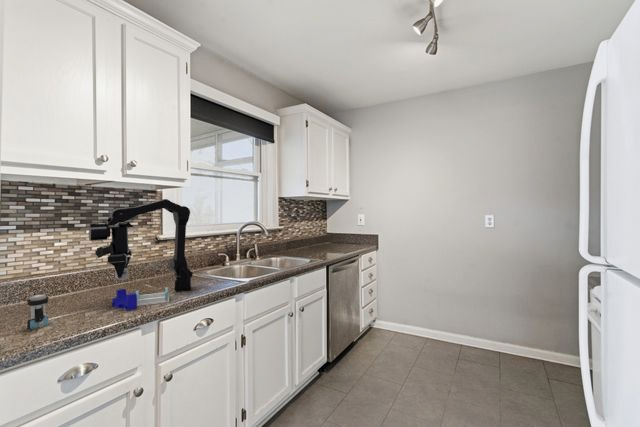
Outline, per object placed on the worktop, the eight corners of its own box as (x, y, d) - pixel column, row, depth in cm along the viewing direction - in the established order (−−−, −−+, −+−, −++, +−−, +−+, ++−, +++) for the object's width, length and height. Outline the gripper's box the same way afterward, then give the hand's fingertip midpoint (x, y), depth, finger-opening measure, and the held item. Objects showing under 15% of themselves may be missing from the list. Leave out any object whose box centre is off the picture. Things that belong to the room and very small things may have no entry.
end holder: (169, 296, 136) (169, 286, 136) (169, 302, 127) (169, 292, 127) (135, 299, 131) (135, 290, 131) (132, 306, 122) (132, 296, 122)
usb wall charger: (117, 280, 126) (117, 270, 126) (114, 277, 131) (113, 268, 131) (129, 278, 129) (128, 269, 128) (125, 276, 134) (124, 267, 133)
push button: (47, 321, 106) (47, 292, 106) (57, 323, 104) (57, 293, 104) (23, 328, 100) (22, 297, 100) (33, 330, 98) (32, 299, 98)
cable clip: (112, 306, 123) (111, 291, 123) (124, 303, 127) (124, 288, 126) (123, 312, 116) (123, 296, 115) (136, 309, 119) (136, 293, 119)
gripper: (101, 237, 134) (103, 273, 135) (90, 242, 117) (92, 283, 118) (131, 236, 139) (132, 270, 139) (125, 240, 122) (126, 279, 122)
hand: (121, 275), depth 130 cm, fingers closed on usb wall charger, 7 cm apart
